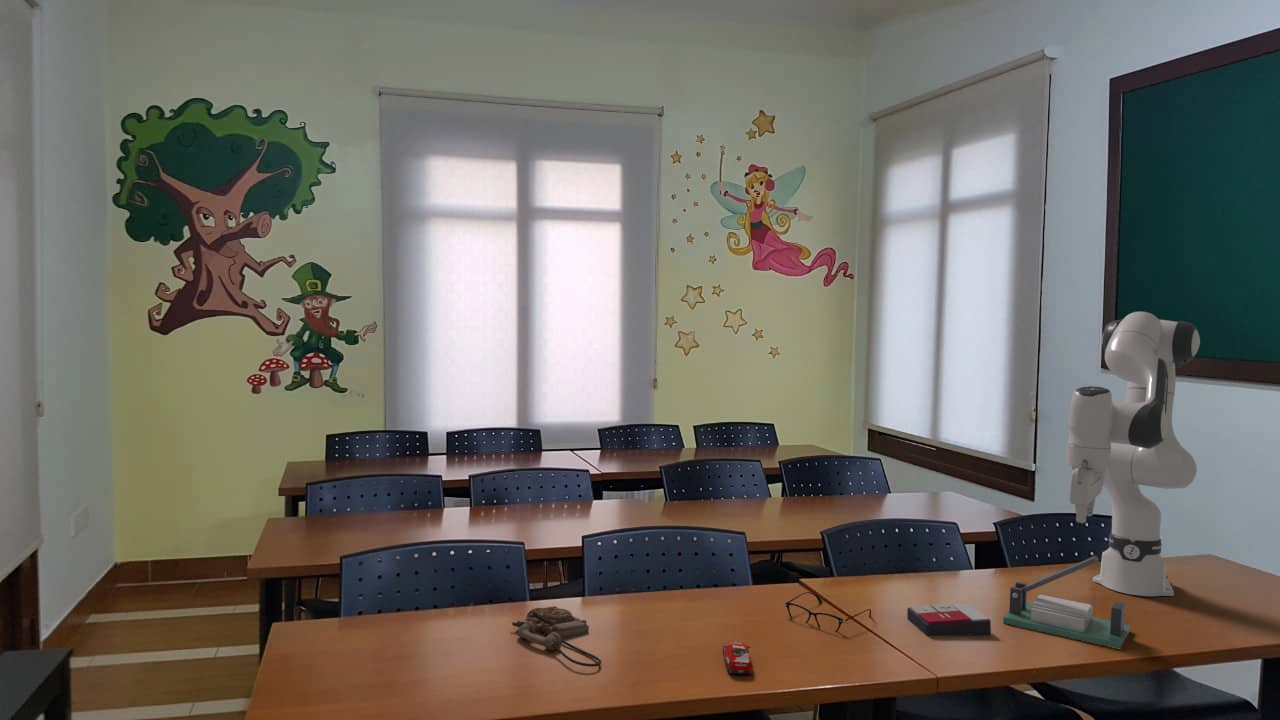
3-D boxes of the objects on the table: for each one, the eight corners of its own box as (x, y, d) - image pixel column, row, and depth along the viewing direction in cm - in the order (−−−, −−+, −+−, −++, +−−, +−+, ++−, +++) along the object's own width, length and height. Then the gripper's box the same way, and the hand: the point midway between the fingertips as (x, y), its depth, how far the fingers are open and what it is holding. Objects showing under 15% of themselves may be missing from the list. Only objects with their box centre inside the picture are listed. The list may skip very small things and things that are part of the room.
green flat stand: (1018, 607, 208) (1019, 577, 208) (1129, 631, 194) (1131, 599, 193) (1003, 623, 197) (1004, 591, 197) (1120, 650, 183) (1122, 615, 182)
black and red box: (906, 604, 199) (967, 600, 200) (906, 622, 199) (967, 618, 200) (926, 621, 188) (991, 617, 189) (927, 640, 188) (991, 636, 189)
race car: (721, 651, 178) (722, 632, 178) (747, 652, 178) (747, 633, 177) (725, 677, 165) (726, 657, 164) (753, 678, 164) (754, 658, 164)
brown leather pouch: (574, 677, 162) (575, 655, 162) (494, 625, 189) (495, 606, 189) (637, 663, 172) (638, 642, 172) (552, 615, 198) (553, 597, 198)
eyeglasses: (780, 617, 198) (781, 600, 198) (816, 601, 210) (816, 586, 210) (843, 637, 187) (844, 619, 187) (877, 619, 199) (878, 602, 199)
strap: (1019, 593, 203) (1017, 589, 203) (1099, 559, 192) (1096, 555, 193) (1016, 596, 200) (1014, 592, 201) (1096, 562, 190) (1094, 558, 190)
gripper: (1096, 465, 182) (1092, 529, 182) (1110, 455, 198) (1107, 513, 199) (1063, 461, 185) (1060, 524, 186) (1080, 452, 202) (1077, 509, 202)
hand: (1084, 518), depth 192 cm, fingers open, 8 cm apart
